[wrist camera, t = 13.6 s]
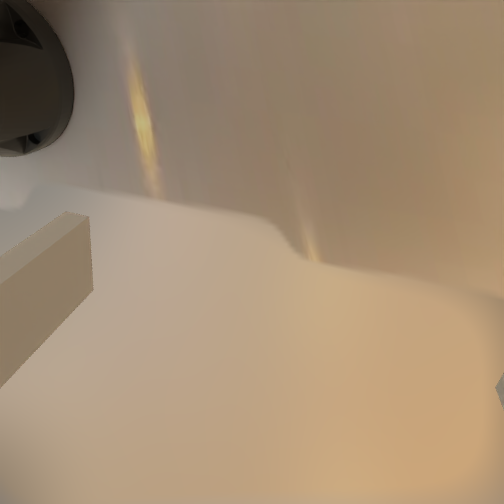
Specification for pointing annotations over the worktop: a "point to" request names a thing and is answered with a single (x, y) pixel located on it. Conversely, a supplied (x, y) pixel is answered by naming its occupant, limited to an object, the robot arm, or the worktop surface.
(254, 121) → the worktop surface
